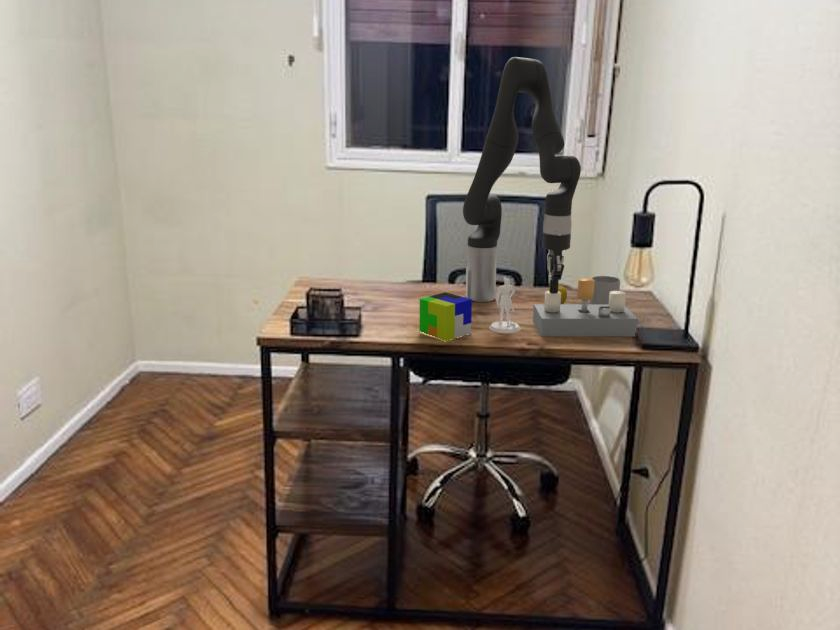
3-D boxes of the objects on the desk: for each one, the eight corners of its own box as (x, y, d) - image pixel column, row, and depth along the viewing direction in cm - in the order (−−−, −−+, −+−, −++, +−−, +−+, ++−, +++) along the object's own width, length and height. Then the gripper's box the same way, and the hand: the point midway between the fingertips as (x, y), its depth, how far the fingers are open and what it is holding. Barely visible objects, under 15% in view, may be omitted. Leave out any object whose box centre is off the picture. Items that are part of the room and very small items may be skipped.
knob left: (544, 326, 210) (546, 294, 207) (542, 321, 214) (543, 290, 211) (560, 326, 210) (562, 294, 207) (557, 321, 214) (559, 290, 212)
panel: (540, 336, 206) (541, 318, 204) (532, 320, 219) (533, 304, 218) (635, 336, 206) (637, 318, 205) (622, 321, 219) (623, 304, 218)
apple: (546, 311, 229) (548, 285, 226) (543, 305, 235) (544, 280, 232) (568, 311, 229) (569, 285, 226) (563, 305, 235) (565, 280, 232)
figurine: (488, 332, 209) (490, 279, 204) (489, 322, 217) (491, 272, 213) (520, 334, 207) (523, 281, 203) (520, 324, 216) (523, 273, 211)
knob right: (609, 326, 210) (611, 294, 208) (605, 321, 214) (607, 290, 212) (625, 326, 210) (627, 295, 208) (620, 321, 214) (623, 290, 212)
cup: (620, 315, 225) (623, 282, 222) (592, 315, 225) (595, 282, 222) (613, 307, 233) (616, 276, 230) (586, 307, 233) (589, 275, 230)
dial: (599, 317, 205) (600, 308, 205) (596, 314, 208) (597, 304, 208) (611, 317, 205) (612, 308, 205) (608, 314, 208) (609, 305, 208)
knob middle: (577, 313, 209) (580, 281, 206) (574, 309, 213) (576, 277, 211) (593, 313, 209) (596, 281, 206) (590, 309, 213) (592, 278, 211)
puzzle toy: (471, 334, 207) (471, 299, 204) (445, 342, 200) (446, 306, 198) (444, 326, 214) (445, 292, 211) (419, 333, 207) (419, 298, 204)
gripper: (539, 226, 211) (536, 286, 216) (547, 235, 198) (544, 299, 203) (565, 226, 211) (562, 286, 216) (575, 235, 198) (571, 299, 203)
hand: (553, 292), depth 209 cm, fingers closed
